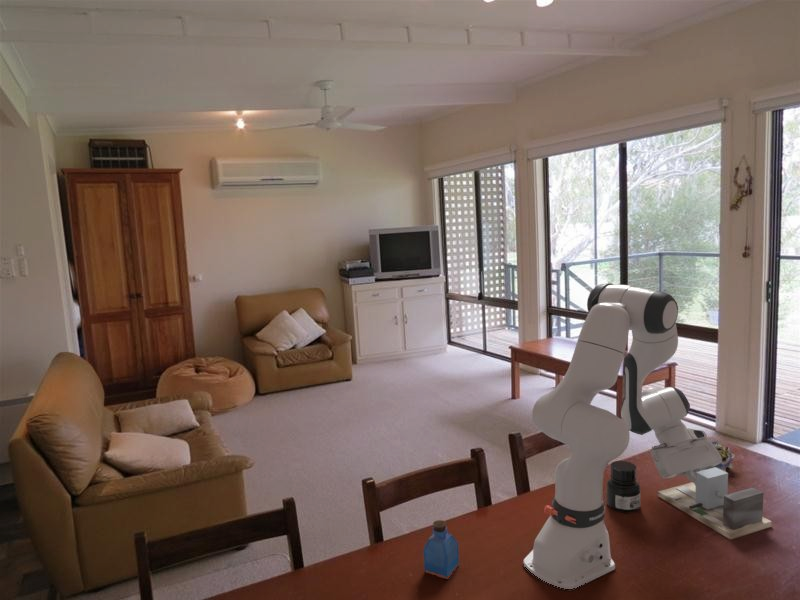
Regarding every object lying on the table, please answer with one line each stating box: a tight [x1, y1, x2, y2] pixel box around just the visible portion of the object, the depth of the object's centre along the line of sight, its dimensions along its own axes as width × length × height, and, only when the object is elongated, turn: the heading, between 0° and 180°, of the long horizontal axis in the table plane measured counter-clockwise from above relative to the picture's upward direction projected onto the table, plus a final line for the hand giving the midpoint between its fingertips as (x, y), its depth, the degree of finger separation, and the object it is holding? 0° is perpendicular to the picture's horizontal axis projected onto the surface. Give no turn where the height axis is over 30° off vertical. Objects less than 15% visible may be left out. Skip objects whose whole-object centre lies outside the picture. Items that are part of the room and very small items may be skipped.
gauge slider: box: [689, 467, 729, 510], centre depth 151 cm, size 6×11×9 cm, turn 109°
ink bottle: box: [606, 460, 641, 513], centre depth 158 cm, size 10×9×12 cm
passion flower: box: [706, 437, 736, 472], centre depth 177 cm, size 11×11×12 cm
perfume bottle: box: [422, 519, 460, 577], centre depth 134 cm, size 6×6×12 cm
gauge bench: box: [657, 481, 772, 540], centre depth 153 cm, size 24×14×10 cm, turn 19°
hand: (703, 486), depth 155 cm, fingers closed, pressing on gauge slider
